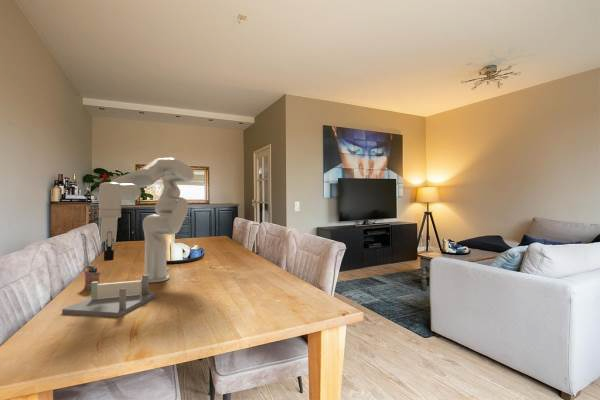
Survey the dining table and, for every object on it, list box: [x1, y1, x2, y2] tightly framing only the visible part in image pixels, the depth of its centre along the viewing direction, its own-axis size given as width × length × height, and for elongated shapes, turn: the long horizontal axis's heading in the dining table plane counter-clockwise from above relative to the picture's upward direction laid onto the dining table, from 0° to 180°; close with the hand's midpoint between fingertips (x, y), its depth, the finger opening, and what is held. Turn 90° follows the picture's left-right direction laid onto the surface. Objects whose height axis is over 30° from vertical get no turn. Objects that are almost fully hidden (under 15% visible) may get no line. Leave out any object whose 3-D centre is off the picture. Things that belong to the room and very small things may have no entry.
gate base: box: [61, 274, 157, 318], centre depth 112 cm, size 21×21×9 cm
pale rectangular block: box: [90, 279, 142, 299], centre depth 116 cm, size 16×2×6 cm, turn 113°
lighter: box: [84, 264, 101, 291], centre depth 131 cm, size 8×3×10 cm, turn 65°
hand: (108, 260), depth 119 cm, fingers closed
